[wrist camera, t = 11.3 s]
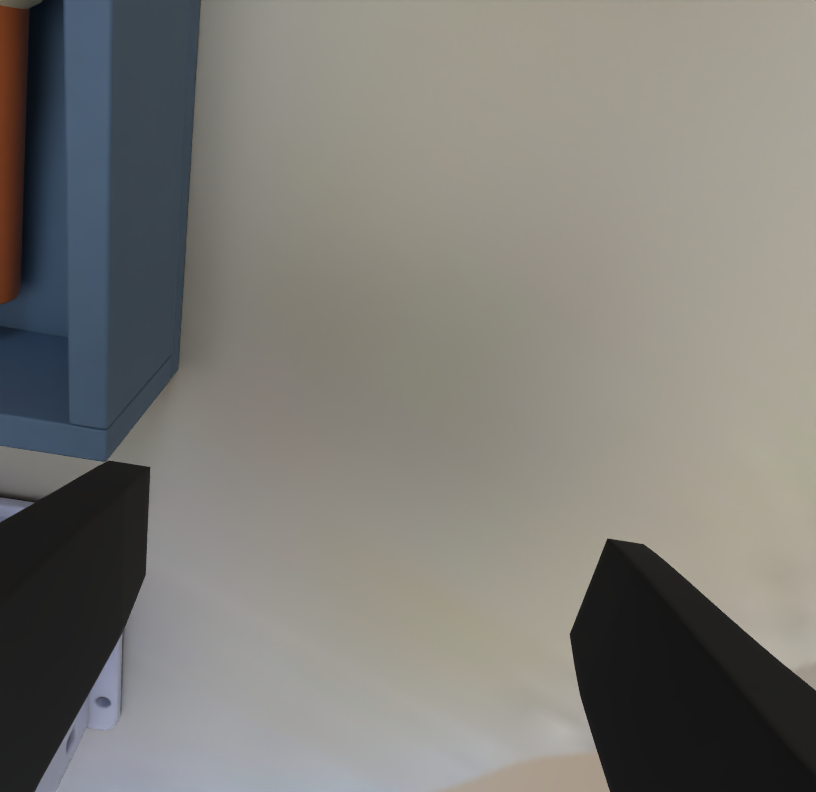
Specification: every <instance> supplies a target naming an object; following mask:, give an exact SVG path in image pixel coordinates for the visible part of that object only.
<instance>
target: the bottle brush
mask: <svg viewBox="0 0 816 792" xmlns="http://www.w3.org/2000/svg"><path fill="white" fill-rule="evenodd" d="M42 1H43V0H0V305H1V304H5V303H8V302H10V301H12V300H14V299H15V298H17V296H18V295H19V293H20V290H21V259H22V227H23V196H24V165H25V133H26V102H27V70H28V39H29V8H31V7H33V6H35V5H37V4H39V3H41V2H42Z"/></svg>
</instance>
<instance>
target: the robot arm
mask: <svg viewBox="0 0 816 792" xmlns="http://www.w3.org/2000/svg"><path fill="white" fill-rule="evenodd" d="M149 485H150V467H146V466H140V465H133V464H127V463H120V462H114V461H107V462H105V463H103V464H102V465H100V466H98V467H96V468H94V469H92V470H91V471H89V472H87V473H85V474H84V475H82V476H80V477H78V478H77V479H75V480H73V481H72V482H70V483H68V484H66V485H65V486H63V487H61V488H60V489H58V490H56V491H54V492H53V493H51V494H49V495H48V496H46V497H44V498H42V499H41V500H39V501H37V502H35V503H34V502H28V501H21V500H14V499H8V498H1V497H0V792H56V790H57V787H58V785H59V783H60V781H61V779H62V777H63V775H64V773H65V771H66V769H67V767H68V765H69V763H70V761H71V759H72V757H73V755H74V752H75V750H76V748H77V746H78V744H79V742H80V740H81V738H82V736H83V734H84V732H85V730H86V728H89V729H98V730H109V729H112V728H114V727H115V726H116V725H117V722H118V720H119V718H120V710H121V673H122V637H123V630H124V627H125V625H126V623H127V620H128V618H129V615H130V613H131V611H132V608H133V606H134V603H135V601H136V598H137V595H138V593H139V590H140V588H141V585H142V583H143V580H144V578H145V575H146V553H147V530H148V508H149ZM570 639H571V645H572V652H573V658H574V665H575V670H576V676H577V681H578V686H579V691H580V696H581V700H582V703H583V706H584V710H585V713H586V716H587V720H588V723H589V726H590V729H591V733H592V736H593V739H594V742H595V746H596V749H597V752H598V755H599V758H600V761H601V765H602V768H603V771H604V774H605V777H606V780H607V783H608V787H609V790H610V792H816V691H815V690H814V689H813V688H812V687H811V686H809V685H808V684H807V683H806V682H805V681H803V680H802V679H801V678H800V677H798V676H797V675H796V674H795V673H793V672H792V671H791V670H790V669H788V668H787V667H786V666H785V665H784V664H782V663H781V662H780V661H779V660H778V659H776V658H775V657H774V656H773V655H772V654H770V653H769V652H768V651H767V650H766V649H765V648H763V647H762V646H761V645H760V644H759V643H758V642H756V641H755V640H754V639H753V638H752V637H751V636H749V635H748V634H747V633H746V632H745V631H744V630H743V629H741V628H740V627H739V626H738V625H737V624H736V623H735V622H733V621H732V620H731V619H730V618H729V617H728V616H727V615H726V614H724V613H723V612H722V611H721V610H720V609H719V608H718V607H717V606H715V605H714V604H713V603H712V602H711V601H710V600H709V599H708V598H706V597H705V596H704V595H703V594H702V593H701V592H700V591H699V590H698V589H696V588H695V587H694V586H693V585H692V584H691V583H690V582H689V581H687V580H686V579H685V578H684V577H683V576H682V575H681V574H679V573H678V572H677V571H676V570H675V569H674V568H673V567H671V566H670V565H669V564H668V563H667V562H666V561H664V560H663V559H662V558H661V557H660V556H658V555H657V554H656V553H655V552H653V551H652V550H651V549H649V548H648V547H647V546H645V545H644V544H639V543H633V542H626V541H620V540H613V539H607V541H606V544H605V546H604V549H603V551H602V554H601V556H600V559H599V561H598V564H597V567H596V569H595V572H594V574H593V577H592V579H591V582H590V584H589V587H588V589H587V592H586V595H585V597H584V600H583V602H582V605H581V607H580V610H579V612H578V615H577V617H576V620H575V622H574V625H573V628H572V630H571V633H570Z"/></svg>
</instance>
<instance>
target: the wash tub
mask: <svg viewBox="0 0 816 792" xmlns="http://www.w3.org/2000/svg"><path fill="white" fill-rule="evenodd" d="M199 14H200V0H43V1H42V2H41V3H39V4H37V5H35V6H33V7H31V8H29V39H28V70H27V102H26V133H25V165H24V196H23V227H22V259H21V290H20V293H19V295H18V296H17V298H15V299H14V300H12V301H10V302H8V303H5V304H1V305H0V446H6V447H12V448H19V449H25V450H31V451H38V452H44V453H51V454H57V455H64V456H70V457H76V458H83V459H89V460H96V461H102V462H105V461H107V460H108V458H109V457H110V456H111V455H112V453H113V452H114V451H115V450H116V448H117V447H118V446H119V444H120V443H121V442H122V441H123V439H124V438H125V437H126V436H127V434H128V433H129V432H130V430H131V429H132V428H133V427H134V425H135V424H136V423H137V422H138V420H139V419H140V418H141V416H142V415H143V414H144V413H145V411H146V410H147V409H148V408H149V406H150V405H151V404H152V402H153V401H154V400H155V399H156V397H157V396H158V395H159V394H160V392H161V391H162V390H163V388H164V387H165V386H166V385H167V383H168V382H169V381H170V379H171V378H172V377H173V375H174V374H175V373H176V372H177V370H178V364H179V348H180V331H181V314H182V298H183V281H184V264H185V247H186V231H187V214H188V197H189V181H190V164H191V147H192V131H193V114H194V97H195V80H196V64H197V47H198V30H199Z"/></svg>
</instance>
